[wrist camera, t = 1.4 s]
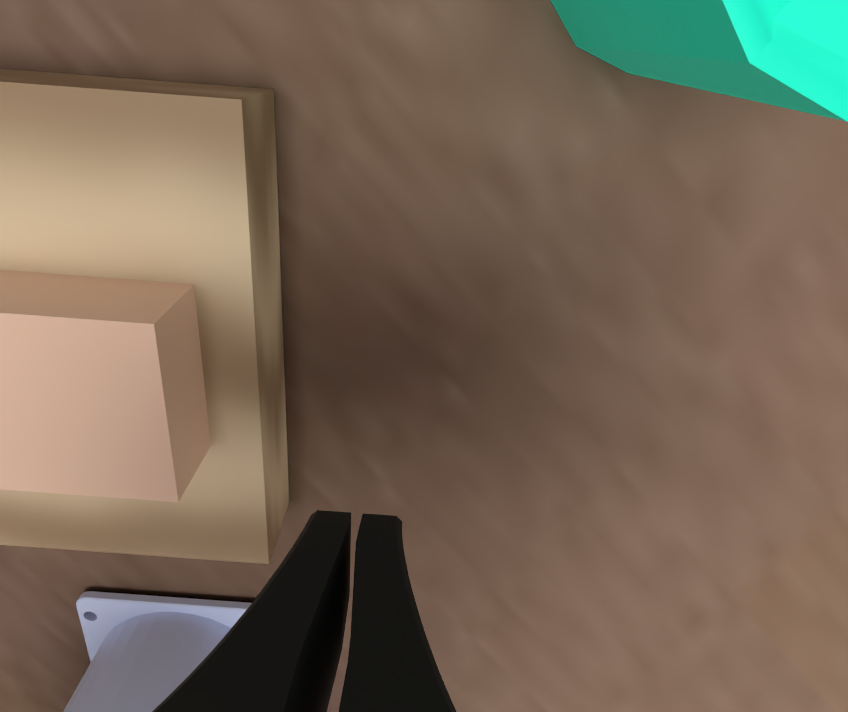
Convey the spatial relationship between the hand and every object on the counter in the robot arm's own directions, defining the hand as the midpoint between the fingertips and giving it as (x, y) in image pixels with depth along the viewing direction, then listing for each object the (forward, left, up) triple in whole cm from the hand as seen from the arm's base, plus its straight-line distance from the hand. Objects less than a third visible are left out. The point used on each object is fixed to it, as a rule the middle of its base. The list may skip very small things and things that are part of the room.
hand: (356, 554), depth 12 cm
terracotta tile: (0, +8, -6) cm, 10 cm away
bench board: (0, +11, -9) cm, 14 cm away
